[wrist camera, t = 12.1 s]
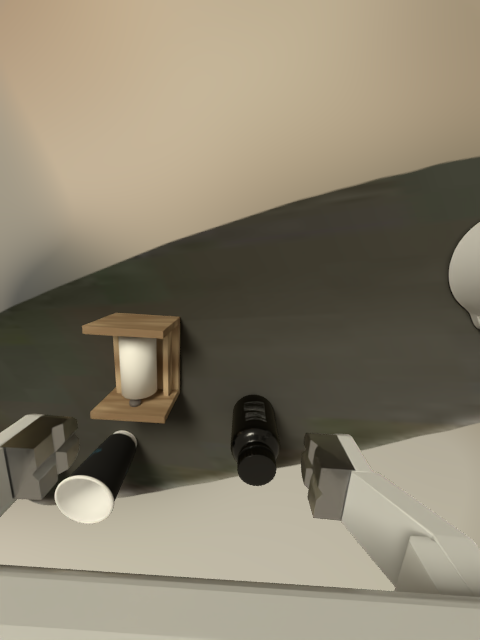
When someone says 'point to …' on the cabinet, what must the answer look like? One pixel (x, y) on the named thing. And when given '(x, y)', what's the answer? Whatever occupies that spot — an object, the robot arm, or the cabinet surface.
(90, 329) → the holder
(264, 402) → the supplement bottle
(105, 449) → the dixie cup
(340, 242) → the cabinet surface
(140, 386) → the paper roll
